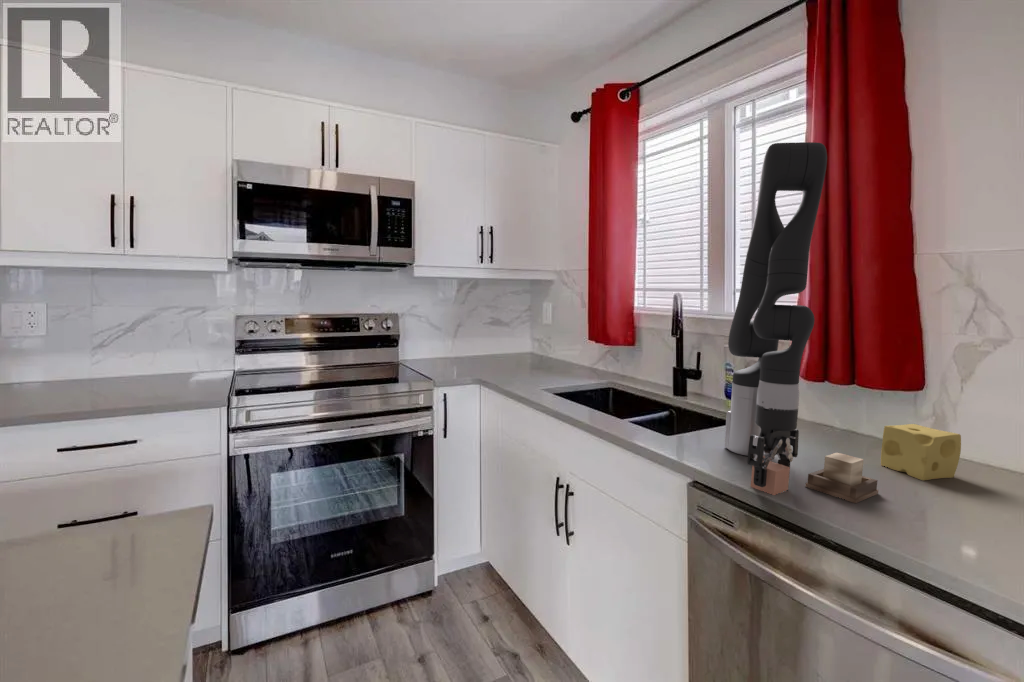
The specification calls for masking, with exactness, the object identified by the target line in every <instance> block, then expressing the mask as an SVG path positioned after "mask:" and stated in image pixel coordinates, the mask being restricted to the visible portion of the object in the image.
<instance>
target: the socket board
mask: <svg viewBox="0 0 1024 682" xmlns="http://www.w3.org/2000/svg"><path fill="white" fill-rule="evenodd" d="M823 473H824V468H822V469H820V470H816V471H814V472H810V473H808V475H807V482H805V487H806V488H808V489H811V490H813V491H816V492H817V491H818V492H820V493H824V494H826V495H829V496H832V497H835V498H838V497H839V499H841V498H842V499H841V500H844V499H845V500H844V501H848V502H850V503H853V504H857V503H860V502H863V501H864V500H867V499H870V498H871V497H875V496H877V495H878V494H879V489H878V479H875V478H872V477H868V476H865V475H862V481H861V483H860V484H857V485H854V486H851V485H848V484H845V483H842V482H838V481H835V480H832V479H829V478H825V477H823Z"/></svg>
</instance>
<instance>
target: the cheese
mask: <svg viewBox="0 0 1024 682" xmlns="http://www.w3.org/2000/svg"><path fill="white" fill-rule="evenodd" d="M881 441H882V443H881V450H880V451H881V452H880V465H881V466H882V467H884V466H885V467H884V468H887V467H888V468H887V469H891V470H893V471H897V472H901V473H906V474H907V475H908V476H909V477H912V478H915V479H918V480H920V481H928V480H936V479H948V478H949V479H952V478H955V474H956V472H957V469H958V464H959V462H960V457H961V451H962V435H961V434H960V433H956V432H952V431H951V432H950V431H946V430H941V429H935V428H932V427H927V426H924V425H919V424H916V423H908V424H898V425H896V424H895V425H884V428H883V433H882V440H881Z"/></svg>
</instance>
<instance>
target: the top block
mask: <svg viewBox="0 0 1024 682" xmlns="http://www.w3.org/2000/svg"><path fill="white" fill-rule="evenodd" d="M766 469H767V478H766V486H765V487H760V486H757V485H755V484H754V466H752V465H751V478H750V488H753V489H756V490H758V491H760V492H763V491H764V493H766V492H767V493H766V494H770V495H771V494H772V496H776V494H777V495H779V494H778V493H780V494H782V493H784V492H783V491H785V492H787V491H786V490H789V483H790V482H789V481H790V473H789V472H791V471H790V470H791V466H790V467H787V466H784V465H781V464H778V462H774V461H772V460H770V462H769V464H768V466H767V468H766ZM781 492H782V493H781Z"/></svg>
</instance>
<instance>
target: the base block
mask: <svg viewBox="0 0 1024 682" xmlns="http://www.w3.org/2000/svg"><path fill="white" fill-rule="evenodd" d="M864 461H865V460H864V458H860V457H857V456H856V457H855V456H852V455H850V454H849V455H848V454H845V453H841V452H834V453H831V454H827V455H825V456H824V464H823V465H824V466H823V469H824V473H823V477H825V478H829V479H832V480H835V481H838V482H842V483H845V484H848V485H851V486H854V485H857V484H860V483H861V481H862V476H863V471H864V469H863V468H864Z"/></svg>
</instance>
